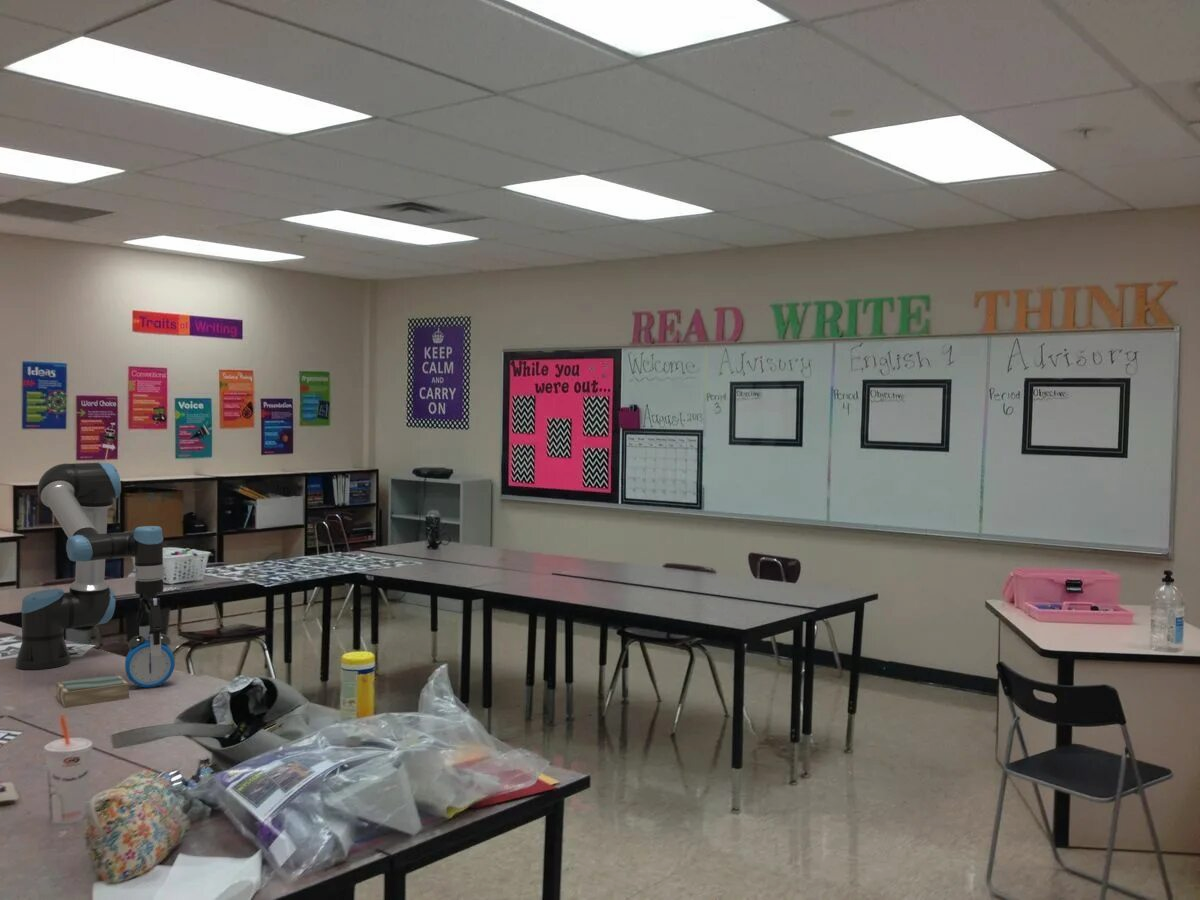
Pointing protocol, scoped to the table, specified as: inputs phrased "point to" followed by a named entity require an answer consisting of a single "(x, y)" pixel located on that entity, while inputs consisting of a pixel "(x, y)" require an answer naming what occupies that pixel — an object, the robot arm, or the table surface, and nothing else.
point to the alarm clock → (149, 662)
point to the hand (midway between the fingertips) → (150, 652)
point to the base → (92, 690)
